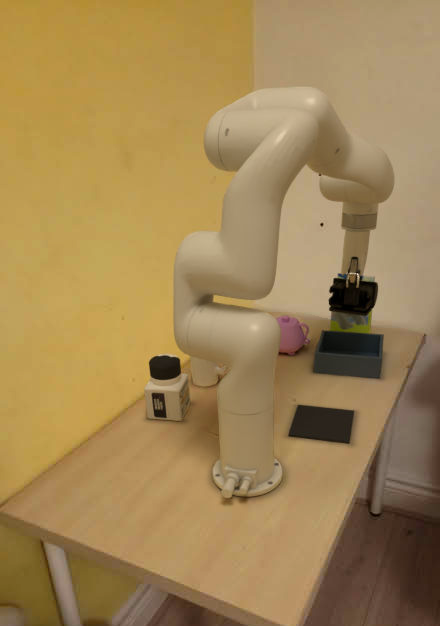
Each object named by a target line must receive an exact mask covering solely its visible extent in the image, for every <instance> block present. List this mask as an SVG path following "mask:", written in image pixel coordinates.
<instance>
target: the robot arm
mask: <svg viewBox="0 0 440 626" xmlns="http://www.w3.org/2000/svg"><path fill="white" fill-rule="evenodd" d="M204 129H205V130H204V134H203V149H204V153H205V155H206V158H207V160H208V161H209V163H210V165H212V166H213V167H214V168H216V169H218V170H220V171H223V172H230V173H231V172H232V173H234V172H236V173H235V174H234V176H233V177H232V178H231V180H230V182H229V184H228V185H227V187H226V190H225V192H224V195H223V197H222V198H223V199H222V209H221V223H220V231H215V230H213V231H212V230H197V231H193V232H191V233H189V234H188V235H186V236H185V237H184V238H183V239H182V241H181V242H180V244H179V246H178V248H177V252H176V253H175V257H174V261H173V262H174V263H173V283H172V284H173V287H172V289H173V297H172V298H173V304H172V305H173V311H172V312H173V316H172V317H173V318H172V319H173V320H172V321H173V336H174V337H173V338H174V342H175V344H176V346H177V348H178V349H179V351H180V352H182V353H183V354H184V355H186V356H188V357H190V356H192V357H195V358H199V359H203V360H207V361H211V362H216V363H218V365H222V366H223V365H225V366H227V369H228V372H227V374H226V373H225V374H224V375H223V377H222V378H221V380H220V381H219V384H218V386H217V389H216V402H217V418H218V419H217V421H218V436H219V437H218V438H219V440H218V441H219V455H220V457H219V459H217V460H216V462H215V463H214V464H213V466H212V471H211V472H212V480H213V482H214V483H215V485H216V486H217V487H218V489H221V491H220V494H221V496H222V497H223V498H225V499H230V498H232V496H233V495H234V496H238V497H257V496H262V495H265V494H267V493H269V492H271V491H273V490H275V489H276V488H277V487H278V486H279V485H280V483H281V482H282V479H283V466H282V464H281V462H280V461H279V460H278V459H277V458H276V457H275V384H276V383H275V381H276V370H277V362H278V357H279V353H280V352H279V348H280V342H281V328H280V325H279V323H278V322H277V320H276V317H274V316H273V315H271V314H270V313H268V312H266V311H263V310H261V309H257V308H253V307H247V306H242V305H236V304H232V303H231V304H229V303H224V302H223V303H222V302H217V301H214V296H219V297H224V298H230V299H231V298H232V299H237V300H245V301H257V300H258V301H259V300H262V299H265V298H267V297H268V296H269V295H270V294H271V292H272V290H273V288H274V286H275V282H276V277H277V276H276V275H277V266H278V252H279V240H280V225H281V216H282V208H283V204H284V201H285V197H286V195H287V194H288V191H289V189H290V187H291V186H292V184H293V182H294V180H295V179H296V178H297V176H298V175H299V174H300V172H301V171H302V169H303V168H305V166H307V167H308V168H309V169H310V170H311V171H312V172H314V173H315V174H318V175H320V177H319V183H318V185H319V191H320V193H321V195H322V197H323V198H325V200H328V201H330V202H335V203H336V202H337V203H342V210H341V222H340V228H341V230H344V231H345V232H344V238H343V247H342V259H341V269H340V273H341V274H342V275H344V274H347V282H346V286H345V295H344V304H350V305H358V303H359V292H360V287H359V280H361V281H362V275H364V273H365V268H366V265H367V261H368V253H369V244H370V237H371V236H370V235H371V231H373V230H376V229H377V224H378V223H377V222H378V215H379V213H378V212H379V205H380V204H382V203H385V202H386V201H387V200H389V198H390V197H391V195H392V193H393V191H394V189H395V172H394V168H393V165H392V162H391V160H390V158H389V155H388V154H387V152H386V151H385V150H384V149H383V148H381V146H379V145H377V144H376V143H373V142H372V141H369V140H368V139H365V138H364V137H361V136H360V135H357V134H355V133H353V132H351V131H348V130H347V129H346V127H345V125H344V123H343V122H342V119H341V118H340V116H339V114H338V113H337V111H336V110H335V108H334V106H333V105H332V102H331V101H330V99H329V97H328V96H327V95H326V94H325V93H324V91H322V90H320V89H319V88H317V87H314V86H305V85H300V86H282V87H266V88H259V89H257V90H254V91H252V92H250V93H248V94H245V95H244V96H242V97H240V98H238V99H237V100H235V101H233V102H231V103H229V104H228V105H226V106H224V107H222V108H220V109H218V110H217V111H216V112H215V113H214V114H213V115H212V116H211V118H210V119H209V121H208V122H207V124H206V127H205V128H204ZM356 283H357V284H356Z"/></svg>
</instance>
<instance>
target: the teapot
mask: <svg viewBox="0 0 440 626" xmlns="http://www.w3.org/2000/svg"><path fill="white" fill-rule="evenodd" d="M275 319H276V320H277V322H278V323H279V325H280V328H281V342H280V348H279V353H287V355H289V356H294V355H296V353H295V352H297V351H299V350H300V349H301V348H302V347H303V346H304V345H309V344H310V343H311V339H310V338H309V337H308V335H309V332H310V327H309V325H308V324H306V323H304V322H300V321H299V320H298V319H297V318H296V317H292V316H290V315H285V314H284V315H282V316H278V317H275ZM304 328H305V332H304V330H303V329H304Z"/></svg>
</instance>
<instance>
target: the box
mask: <svg viewBox="0 0 440 626" xmlns="http://www.w3.org/2000/svg"><path fill="white" fill-rule="evenodd" d="M337 278H343V279H347V273H346V274H344V275H342V274H341V272H338V273H337ZM375 279H376V276H375V275H364V274H363V275H362V281H370V282H376V281H375ZM330 312H331V313H330V323H329V331H341V332H356V333H371V328H372V317H373V309H372V310H371V311H370V313H369V314H368V315H367V316H361V315H354V314H347V313H340V312H332V311H330Z"/></svg>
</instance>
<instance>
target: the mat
mask: <svg viewBox="0 0 440 626" xmlns="http://www.w3.org/2000/svg"><path fill="white" fill-rule="evenodd" d="M354 414H355V410H352V409H343V408H335V407H325V406H316V405H307V404H306V405H305V404H297V406H296V410H295V413H294V416H293V419H292V422H291V425H290V428H289V431H288V435H287V436H288V437H291V438H298V439H299V438H300V439H309V440H316V441H326V442H332V443H333V442H334V443H342V444H348V445H349V444H350V443H351V436H352V430H353V429H352V428H353V422H354V416H355V415H354Z"/></svg>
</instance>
